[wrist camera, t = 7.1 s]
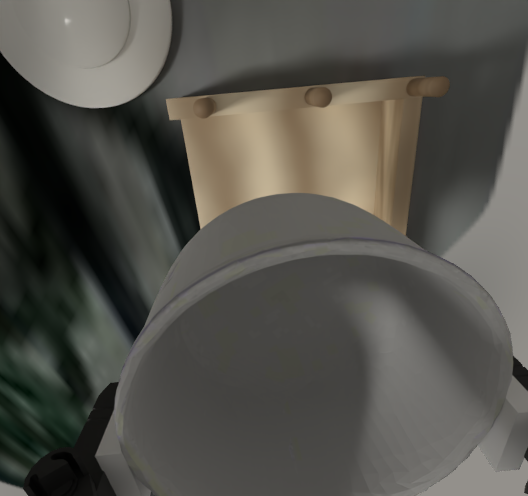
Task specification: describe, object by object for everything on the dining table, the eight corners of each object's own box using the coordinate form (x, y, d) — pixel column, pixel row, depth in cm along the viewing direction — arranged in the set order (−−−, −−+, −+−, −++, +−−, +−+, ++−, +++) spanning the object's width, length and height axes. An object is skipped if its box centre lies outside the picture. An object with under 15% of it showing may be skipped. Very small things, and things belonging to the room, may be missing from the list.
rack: (217, 309, 33) (210, 369, 26) (179, 97, 24) (153, 100, 17) (375, 293, 33) (410, 348, 26) (393, 78, 24) (453, 73, 17)
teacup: (139, 197, 14) (22, 315, 6) (395, 140, 13) (575, 198, 6) (225, 412, 20) (213, 597, 13) (402, 378, 19) (495, 551, 12)
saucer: (29, 114, 24) (14, 116, 23) (-53, -104, 19) (-80, -122, 18) (188, 99, 25) (184, 100, 23) (150, -122, 19) (141, -141, 18)
